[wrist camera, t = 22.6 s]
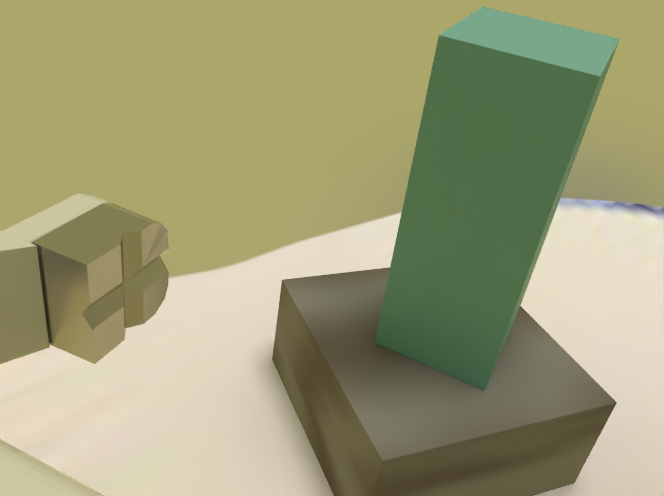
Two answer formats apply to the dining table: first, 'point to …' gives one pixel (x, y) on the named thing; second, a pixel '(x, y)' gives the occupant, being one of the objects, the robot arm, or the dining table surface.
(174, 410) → the dining table surface
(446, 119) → the teal pillar
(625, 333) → the dining table surface
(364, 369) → the charcoal block
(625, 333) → the dining table surface
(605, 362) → the dining table surface
